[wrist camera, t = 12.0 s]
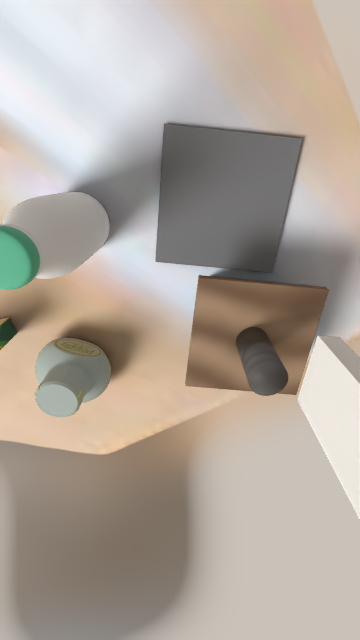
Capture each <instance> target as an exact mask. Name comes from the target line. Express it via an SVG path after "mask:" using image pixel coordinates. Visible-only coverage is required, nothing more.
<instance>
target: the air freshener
mask: <svg viewBox="0 0 360 640" xmlns="http://www.w3.org/2000/svg"><path fill="white" fill-rule="evenodd" d="M35 368H36V375H37V379H38V381H39V383H40V385H39V387H38V388H37V391H36V393H35V397H36V398H35V400H36V402H37V405H38V406H39V407H40V408H41V410H42V411H44V412H45V413H47V414H49V415H51V416H54V417H67V416H71V415H73V414H74V413H75V412H77V411H78V409H79V407H80V405H81V403H83V402H88V401H90V400H93V399H95V398H96V397H98V396H99V395H100V394H102V393H103V392H104V390H105V389H106V388H107V386H108V384H109V381H110V377H111V367H110V363H109V360H108V358H107V356H106V354H105V353H104V352H103V350H102V349H101V348H99V347H98V346H96V345H94V344H92V343H90V342H87V341H83V340H79V339H74V338H59V339H56V340H54V341H52V342H50V343H49V344H47V345H46V346H45V347H44V348H43V349H42V350H41V352H40V353H39V355H38V358H37V360H36V367H35Z"/></svg>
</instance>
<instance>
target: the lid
mask: <svg viewBox="0 0 360 640" xmlns="http://www.w3.org/2000/svg"><path fill="white" fill-rule="evenodd" d="M328 291H329V290H328V289H327V288H326V287H319V286H308V285H298V284H287V283H276V282H266V281H255V280H244V279H234V278H223V277H212V276H202V275H199V277H198V285H197V293H196V301H195V309H194V317H193V325H192V333H191V341H190V349H189V357H188V365H187V373H186V381H185V383H186V386H192V387H205V388H217V389H230V390H242V391H253V392H255V393H257V394H259V395H264V396H269V395H274V394H276V393H280V394H292V395H296V394H297V390H298V387H299V384H300V381H301V378H302V374H303V371H304V368H305V365H306V362H307V358H308V355H309V352H310V349H311V346H312V342H313V339H314V336H315V333H316V330H317V326H318V323H319V320H320V317H321V314H322V310H323V307H324V304H325V301H326V298H327V294H328Z"/></svg>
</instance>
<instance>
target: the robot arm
mask: <svg viewBox="0 0 360 640" xmlns="http://www.w3.org/2000/svg"><path fill="white" fill-rule="evenodd" d="M298 402H299V404H300V406H301V408H302V410H303V412H304V413H305V415H306V417H307V419H308V421H309V423H310V425H311V427H312V429H313V431H314V433H315V435H316V437H317V439H318V441H319V442H320V444H321V446H322V448H323V450H324V452H325V454H326V456H327V458H328V460H329V462H330V464H331V465H332V467H333V469H334V471H335V473H336V475H337V477H338V479H339V481H340V483H341V485H342V487H343V489H344V490H345V492H346V494H347V496H348V498H349V500H350V502H351V504H352V506H353V507H354V510H355V511H356V513H357V515H358V517H359V519H360V357H359V356H358V355H357V354H356V353H355V352H354V351H353V350H352V349H351V348H350V347H349V346H348V345H347V344H346V343H345V342H344V341H343V340H342V339H341V338H340V337H331V336H320V335H318V336H317V339H316V343H315V346H314V349H313V352H312V355H311V358H310V362H309V365H308V368H307V371H306V375H305V378H304V381H303V384H302V387H301V390H300V393H299V397H298Z"/></svg>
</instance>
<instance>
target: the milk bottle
mask: <svg viewBox="0 0 360 640" xmlns="http://www.w3.org/2000/svg"><path fill="white" fill-rule="evenodd" d="M109 229H110V225H109V219H108V216H107V213H106V211H105V209H104V208H103V206H102V205H101V204H100V203H99V202H98V201H97V200H96V199H95V198H93V197H92V196H90V195H88V194H85V193H81V192H67V193H59V194H52V195H46V196H40V197H36V198H32V199H28V200H26V201H24V202H22V203H20V204H18V205H17V206H15V207H14V208H13V209H12V210H11V211H10V212H9V213H8V214H7V216H6V217H5V219H4V221H3V223H2V225H0V289H5V290H11V289H17V288H20V287H22V286H24V285H26V284H28V283H29V282H30V281H31V280H33V279H35V278H42V279H51V278H57V277H61V276H63V275H66V274H68V273H70V272H72V271H73V270H75V269H76V268H77V267H79V266H80V265H81V264H83V263H84V262H85V261H86V260H87V259H89V258H90V257H91V256H92V255H93V254H94V253H95V252H97V251H98V250H99V249H100V248H101V247H102V246H103V245H104V243H105V242H106V240H107V238H108V235H109Z"/></svg>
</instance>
